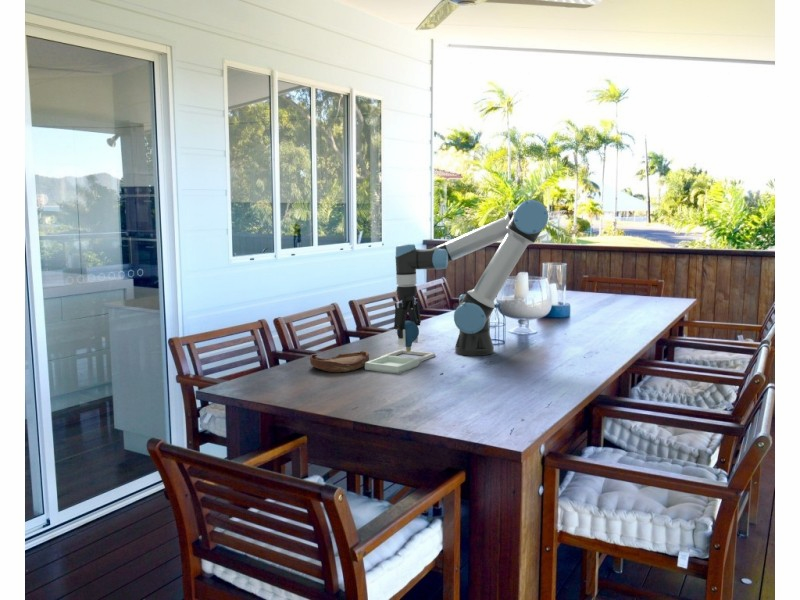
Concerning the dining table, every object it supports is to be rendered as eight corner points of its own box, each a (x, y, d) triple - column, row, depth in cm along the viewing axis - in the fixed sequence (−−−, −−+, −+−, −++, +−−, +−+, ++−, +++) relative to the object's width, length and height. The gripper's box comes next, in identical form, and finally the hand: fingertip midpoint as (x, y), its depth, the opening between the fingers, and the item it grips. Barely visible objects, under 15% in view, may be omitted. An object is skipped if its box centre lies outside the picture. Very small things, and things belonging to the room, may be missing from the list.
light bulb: (417, 354, 260) (416, 322, 259) (395, 354, 262) (394, 322, 261) (421, 349, 269) (420, 319, 267) (400, 349, 270) (398, 319, 269)
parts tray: (418, 365, 252) (418, 358, 252) (398, 373, 240) (398, 366, 240) (386, 361, 260) (386, 355, 259) (364, 369, 248) (364, 362, 248)
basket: (346, 358, 268) (346, 345, 267) (382, 366, 254) (382, 352, 253) (299, 368, 252) (298, 355, 252) (334, 377, 238) (334, 363, 238)
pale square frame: (435, 356, 268) (435, 353, 268) (414, 364, 255) (414, 360, 255) (401, 352, 276) (401, 349, 276) (379, 359, 263) (379, 356, 263)
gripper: (412, 282, 273) (414, 339, 276) (382, 288, 255) (385, 348, 258) (429, 282, 269) (430, 340, 272) (400, 288, 251) (402, 350, 254)
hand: (408, 344), depth 265 cm, fingers closed on light bulb, 8 cm apart
